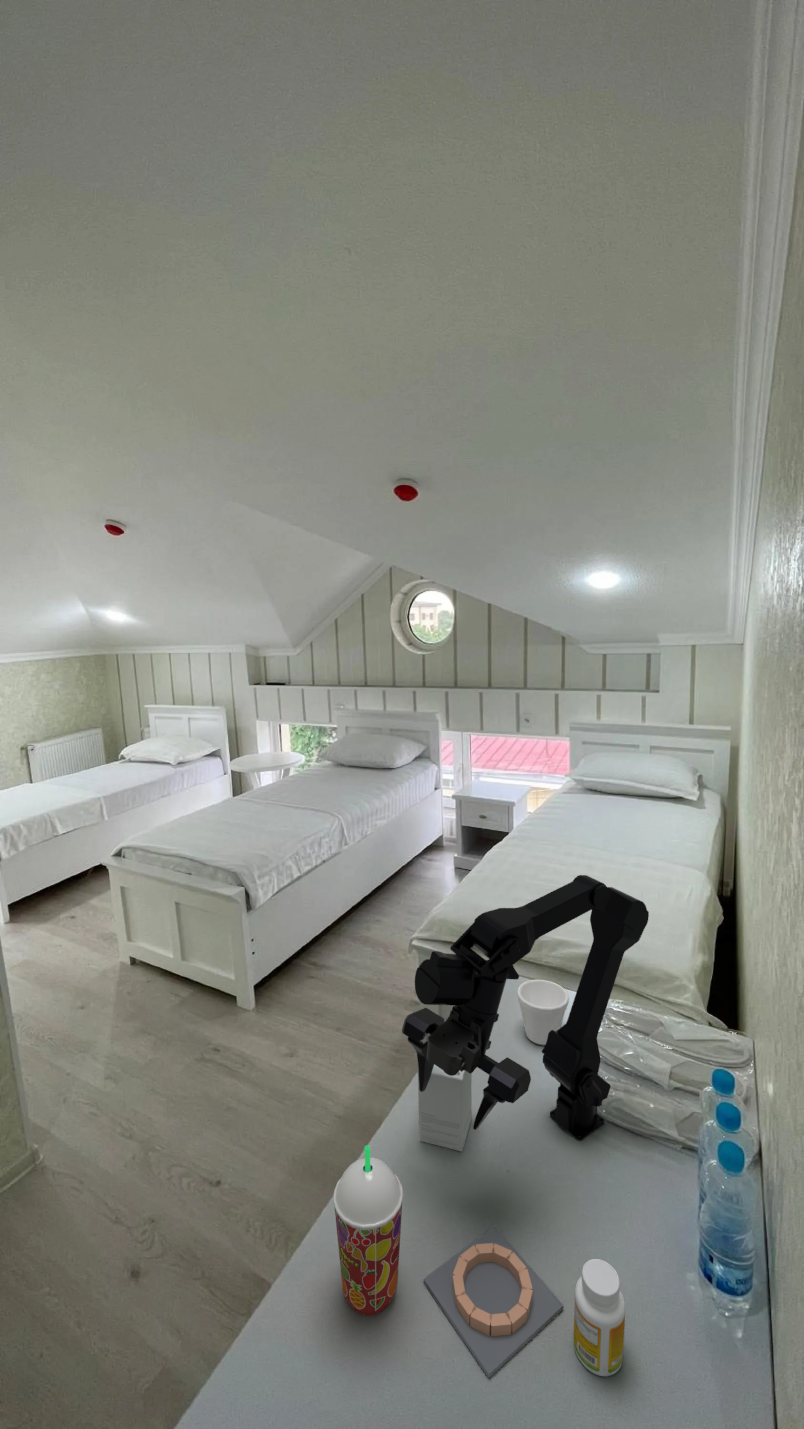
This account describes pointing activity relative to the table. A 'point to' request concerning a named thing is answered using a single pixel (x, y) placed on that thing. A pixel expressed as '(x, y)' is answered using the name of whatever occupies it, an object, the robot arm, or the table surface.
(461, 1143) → the supplement box
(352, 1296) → the smoothie
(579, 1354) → the supplement bottle
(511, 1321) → the ring seat
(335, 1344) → the table surface
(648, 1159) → the table surface
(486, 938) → the robot arm
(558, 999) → the cup
